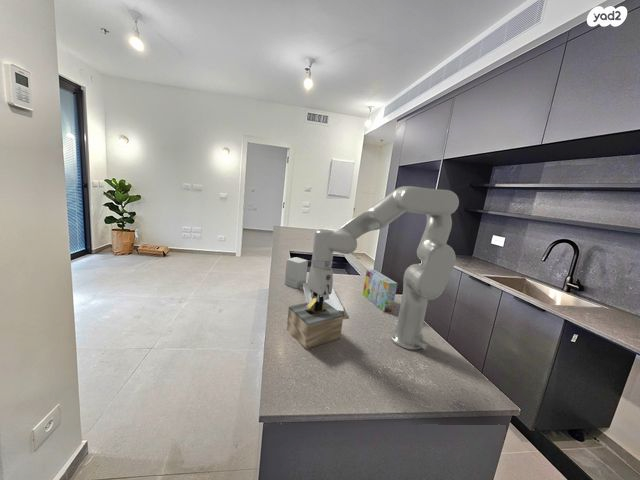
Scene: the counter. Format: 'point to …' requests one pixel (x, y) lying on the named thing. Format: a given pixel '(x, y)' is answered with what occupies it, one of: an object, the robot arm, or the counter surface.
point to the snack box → (380, 290)
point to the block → (312, 306)
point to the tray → (331, 301)
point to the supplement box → (296, 272)
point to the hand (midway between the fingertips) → (316, 308)
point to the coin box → (314, 324)
